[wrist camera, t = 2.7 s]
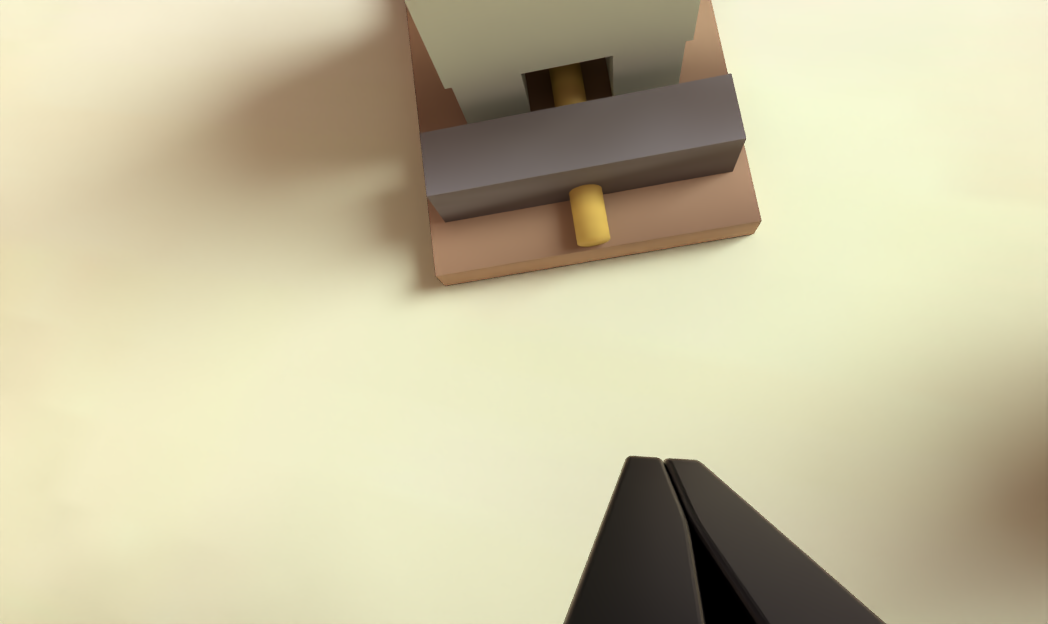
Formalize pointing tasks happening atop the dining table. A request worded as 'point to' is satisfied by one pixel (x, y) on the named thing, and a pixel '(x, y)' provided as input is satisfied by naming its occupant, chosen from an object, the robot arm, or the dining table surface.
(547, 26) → the tall pale green box
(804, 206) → the dining table surface
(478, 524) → the dining table surface
